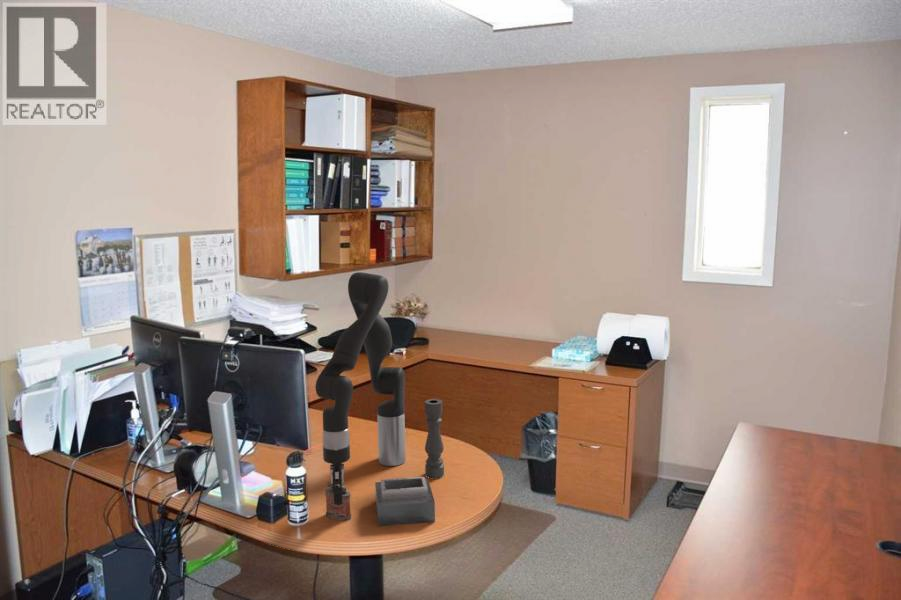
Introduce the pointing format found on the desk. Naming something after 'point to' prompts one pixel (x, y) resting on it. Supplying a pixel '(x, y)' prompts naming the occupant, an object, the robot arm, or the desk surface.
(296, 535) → the desk surface
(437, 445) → the candle holder
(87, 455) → the desk surface
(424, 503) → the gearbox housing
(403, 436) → the robot arm
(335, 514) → the lighter
